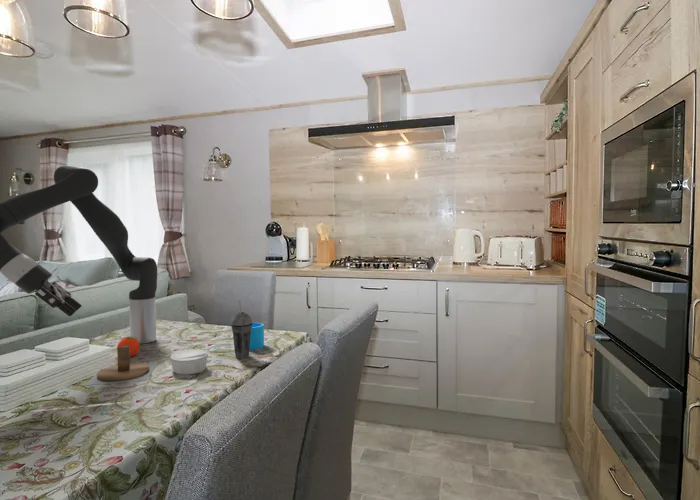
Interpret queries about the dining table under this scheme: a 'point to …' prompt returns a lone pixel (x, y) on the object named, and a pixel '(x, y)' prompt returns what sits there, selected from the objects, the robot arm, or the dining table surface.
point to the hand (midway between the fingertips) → (76, 311)
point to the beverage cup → (241, 333)
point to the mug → (257, 336)
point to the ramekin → (189, 361)
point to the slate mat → (142, 378)
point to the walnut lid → (123, 368)
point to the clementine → (130, 345)
